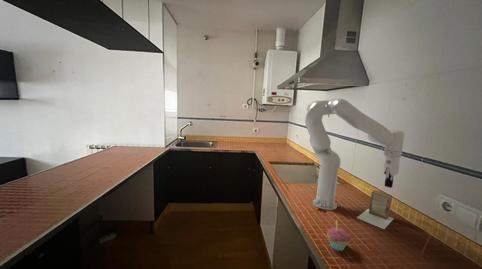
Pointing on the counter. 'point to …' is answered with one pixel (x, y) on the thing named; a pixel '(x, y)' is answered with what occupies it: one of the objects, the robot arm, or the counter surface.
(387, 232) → the counter surface
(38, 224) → the counter surface
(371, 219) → the mat
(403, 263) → the counter surface
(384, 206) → the slab
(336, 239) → the cupcake
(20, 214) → the counter surface
